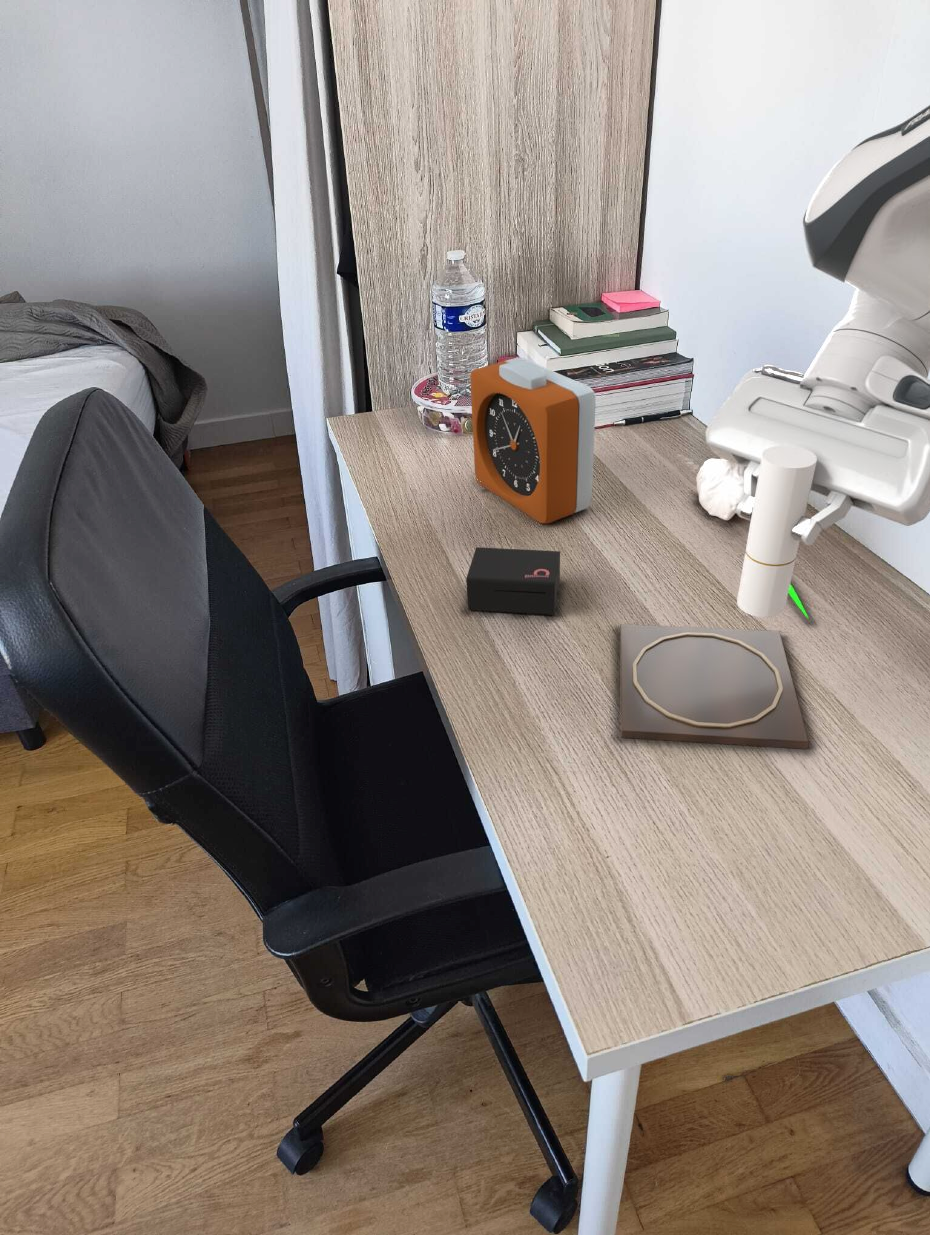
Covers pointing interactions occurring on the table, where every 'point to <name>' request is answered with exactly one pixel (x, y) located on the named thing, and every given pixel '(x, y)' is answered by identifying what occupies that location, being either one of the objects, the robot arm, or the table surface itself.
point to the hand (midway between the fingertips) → (772, 529)
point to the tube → (775, 529)
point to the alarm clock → (533, 438)
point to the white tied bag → (720, 487)
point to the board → (708, 687)
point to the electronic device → (513, 580)
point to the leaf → (796, 599)
